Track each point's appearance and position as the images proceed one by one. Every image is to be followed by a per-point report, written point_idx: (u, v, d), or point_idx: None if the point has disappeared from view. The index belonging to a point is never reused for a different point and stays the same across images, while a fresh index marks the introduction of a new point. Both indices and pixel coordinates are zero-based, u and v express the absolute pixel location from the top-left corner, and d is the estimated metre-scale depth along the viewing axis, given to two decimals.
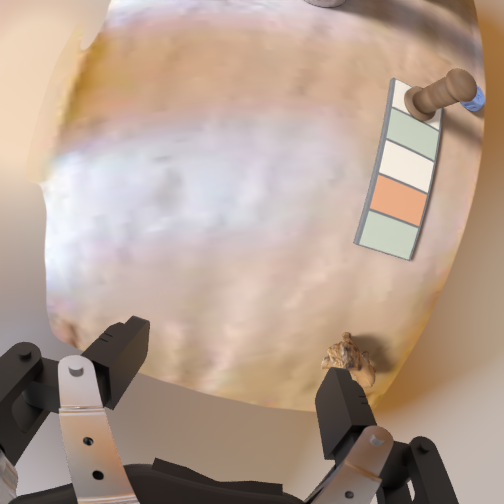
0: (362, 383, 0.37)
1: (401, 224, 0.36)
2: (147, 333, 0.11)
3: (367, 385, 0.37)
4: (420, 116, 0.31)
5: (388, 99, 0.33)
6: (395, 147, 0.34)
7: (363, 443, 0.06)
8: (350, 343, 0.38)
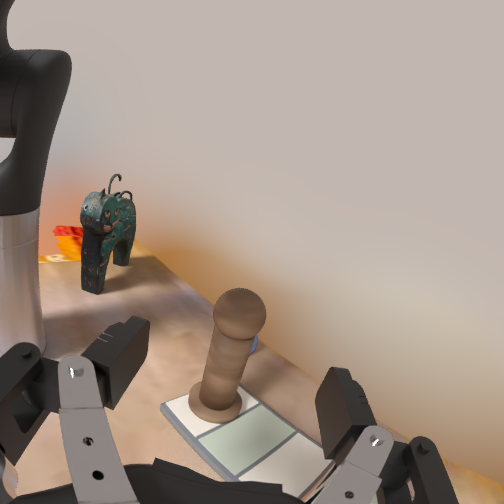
0: None
1: None
2: (147, 333, 0.11)
3: None
4: (232, 412, 0.24)
5: (182, 435, 0.21)
6: (255, 472, 0.18)
7: (363, 443, 0.06)
8: None
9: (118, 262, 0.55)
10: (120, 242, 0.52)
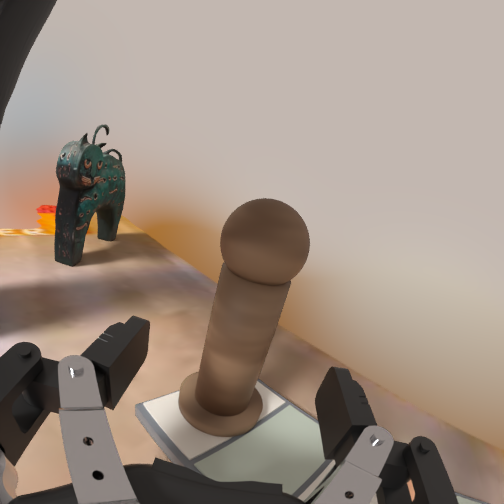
0: None
1: None
2: (147, 333, 0.11)
3: None
4: (249, 418, 0.15)
5: (169, 456, 0.12)
6: None
7: (363, 443, 0.06)
8: None
9: (103, 236, 0.45)
10: (105, 211, 0.43)
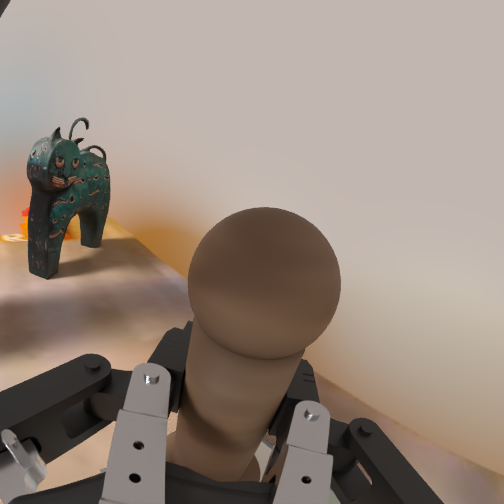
0: None
1: None
2: None
3: None
4: None
5: None
6: None
7: (299, 421, 0.07)
8: None
9: (86, 242, 0.40)
10: (88, 214, 0.37)
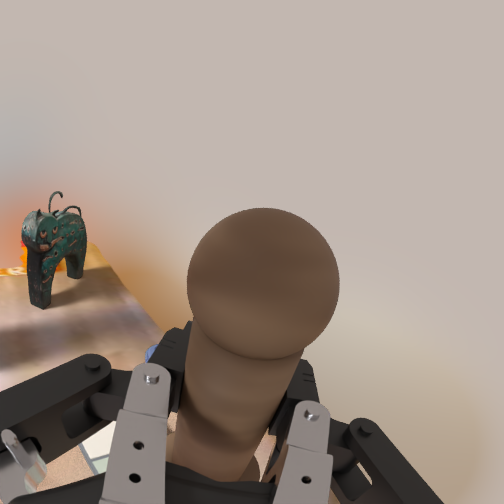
0: None
1: None
2: None
3: None
4: None
5: (83, 455, 0.18)
6: None
7: (299, 421, 0.07)
8: None
9: (71, 275, 0.50)
10: (70, 256, 0.48)
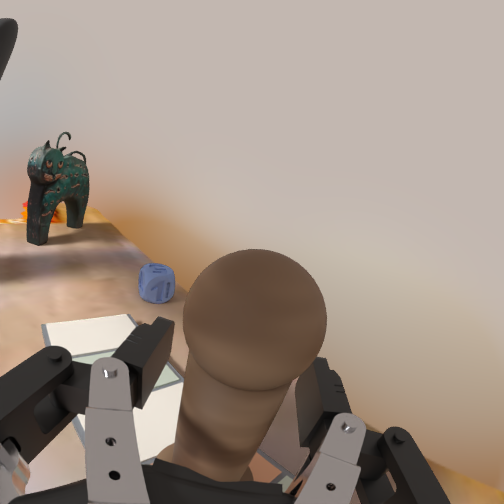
0: None
1: None
2: (172, 333, 0.11)
3: None
4: None
5: None
6: None
7: (335, 432, 0.07)
8: None
9: (71, 224, 0.50)
10: (71, 202, 0.47)
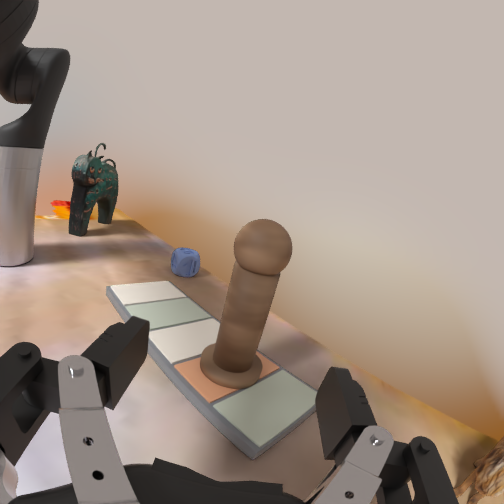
0: None
1: (264, 383, 0.23)
2: (147, 333, 0.11)
3: None
4: (252, 375, 0.22)
5: (116, 307, 0.30)
6: (162, 332, 0.26)
7: (363, 443, 0.06)
8: (480, 468, 0.09)
9: (102, 220, 0.63)
10: (104, 202, 0.60)
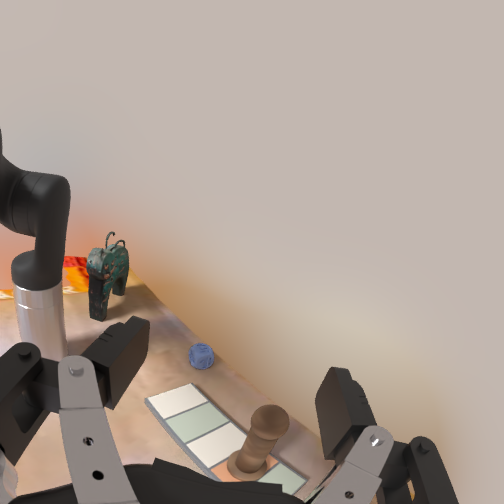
0: None
1: (268, 475, 0.29)
2: (147, 333, 0.11)
3: None
4: (261, 473, 0.28)
5: (157, 418, 0.36)
6: (197, 442, 0.32)
7: (363, 443, 0.06)
8: None
9: (116, 292, 0.69)
10: (117, 278, 0.66)
